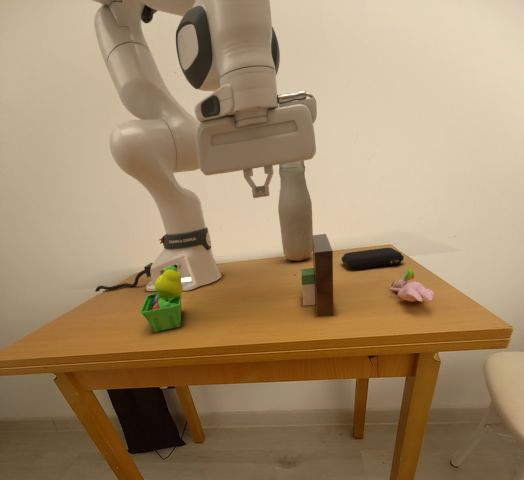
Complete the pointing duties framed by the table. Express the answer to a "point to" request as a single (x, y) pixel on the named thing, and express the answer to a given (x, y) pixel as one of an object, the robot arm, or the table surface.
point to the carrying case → (372, 258)
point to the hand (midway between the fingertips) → (261, 197)
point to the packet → (308, 286)
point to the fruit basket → (164, 301)
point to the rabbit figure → (411, 289)
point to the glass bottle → (295, 212)
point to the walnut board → (323, 274)
